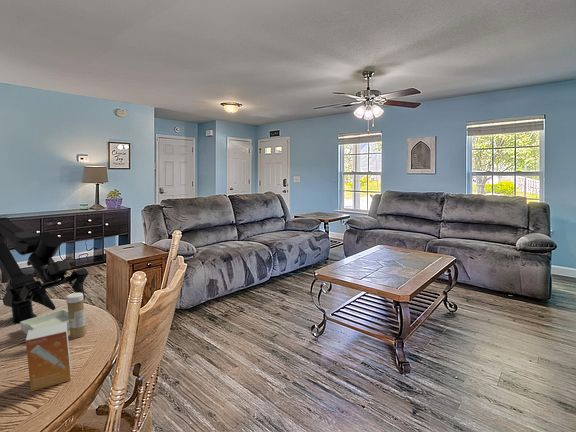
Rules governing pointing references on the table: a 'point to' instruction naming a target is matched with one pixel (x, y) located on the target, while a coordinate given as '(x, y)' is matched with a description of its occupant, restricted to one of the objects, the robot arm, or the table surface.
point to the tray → (46, 320)
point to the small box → (48, 356)
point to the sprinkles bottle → (76, 315)
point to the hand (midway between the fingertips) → (69, 303)
